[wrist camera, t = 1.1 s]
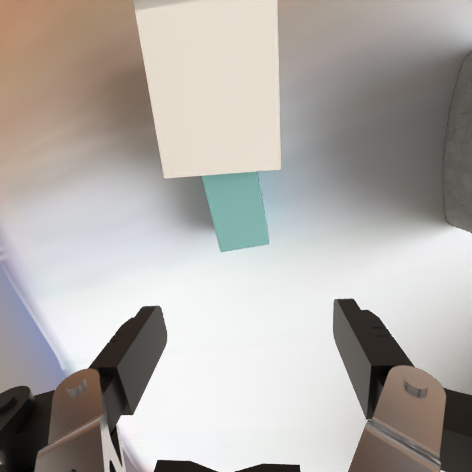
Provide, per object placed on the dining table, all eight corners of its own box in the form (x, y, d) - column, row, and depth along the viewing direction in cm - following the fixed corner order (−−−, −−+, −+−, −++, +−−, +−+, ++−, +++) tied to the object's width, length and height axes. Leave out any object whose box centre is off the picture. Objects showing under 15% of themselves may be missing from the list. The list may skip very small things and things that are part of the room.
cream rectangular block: (182, 57, 23) (132, -3, 14) (269, 46, 22) (276, -26, 13) (196, 168, 26) (164, 178, 17) (272, 162, 25) (280, 169, 16)
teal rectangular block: (196, 97, 24) (177, 81, 18) (241, 85, 23) (236, 64, 18) (228, 231, 28) (220, 252, 23) (267, 224, 28) (269, 243, 22)
